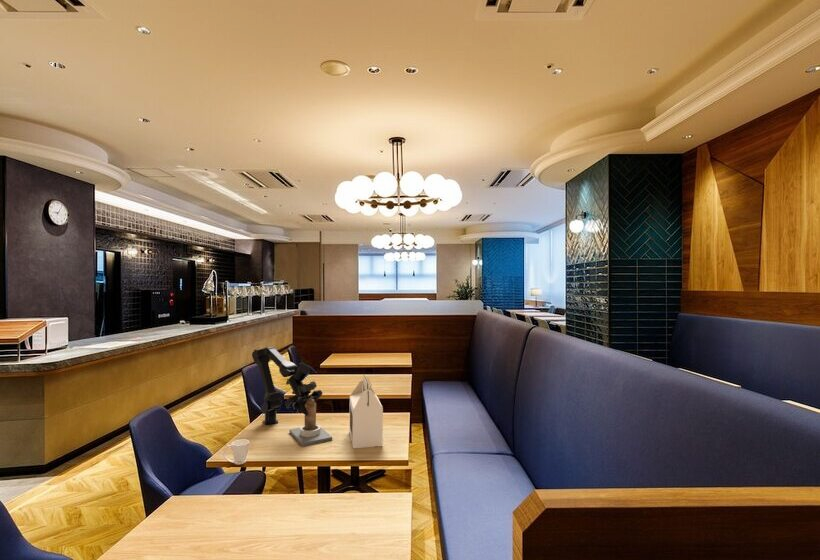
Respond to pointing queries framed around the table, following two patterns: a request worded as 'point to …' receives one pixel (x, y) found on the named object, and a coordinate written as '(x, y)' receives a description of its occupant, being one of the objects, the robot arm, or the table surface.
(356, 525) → the table surface
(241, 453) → the cup
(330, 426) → the table surface
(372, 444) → the gable box
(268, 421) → the robot arm
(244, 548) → the table surface
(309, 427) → the pepper mill
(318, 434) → the caddy board
